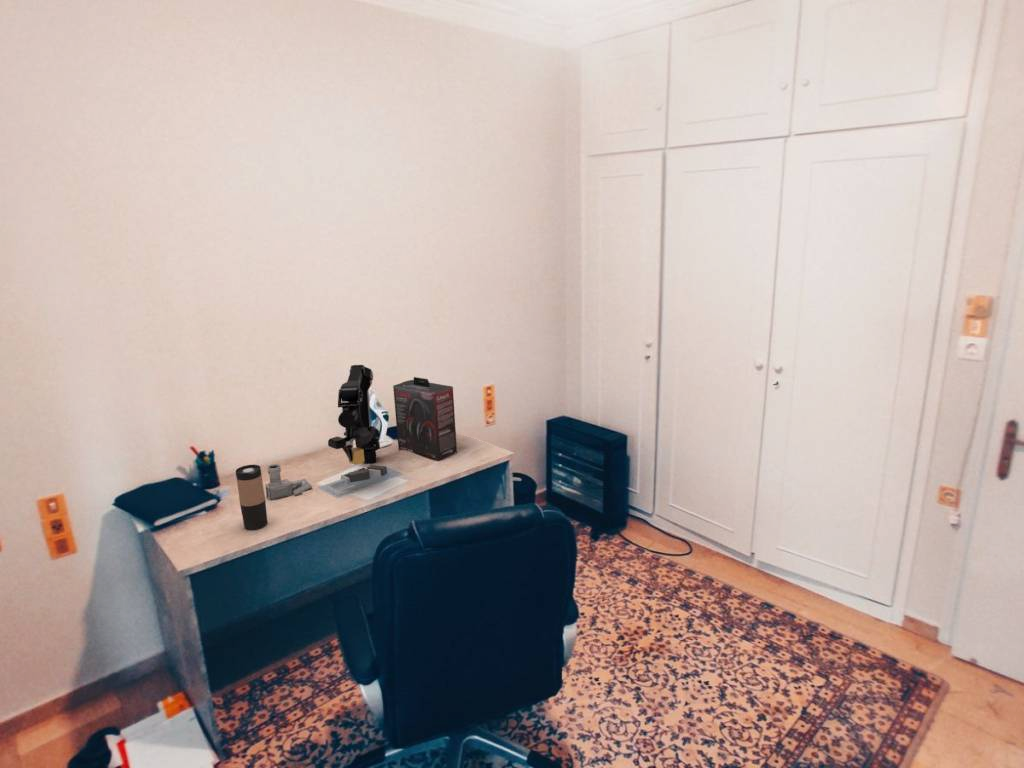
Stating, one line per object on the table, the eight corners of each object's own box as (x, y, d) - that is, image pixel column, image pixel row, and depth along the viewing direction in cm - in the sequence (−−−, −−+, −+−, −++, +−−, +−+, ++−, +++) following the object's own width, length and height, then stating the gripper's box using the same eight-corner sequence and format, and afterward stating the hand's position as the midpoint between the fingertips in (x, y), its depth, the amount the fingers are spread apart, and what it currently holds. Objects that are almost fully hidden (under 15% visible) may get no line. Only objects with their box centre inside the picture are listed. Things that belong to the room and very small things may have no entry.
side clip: (341, 481, 235) (340, 475, 234) (364, 473, 242) (363, 467, 241) (348, 485, 231) (347, 478, 231) (371, 476, 239) (370, 470, 238)
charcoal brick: (349, 479, 236) (348, 472, 236) (367, 476, 239) (366, 469, 238) (350, 482, 234) (349, 475, 233) (369, 479, 236) (368, 471, 236)
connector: (349, 462, 228) (347, 449, 227) (358, 459, 231) (357, 446, 230) (355, 464, 226) (354, 452, 224) (364, 461, 228) (363, 449, 227)
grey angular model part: (261, 464, 224) (302, 456, 233) (264, 494, 227) (305, 484, 236) (267, 472, 218) (309, 462, 226) (271, 502, 220) (312, 492, 229)
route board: (317, 489, 230) (316, 480, 229) (382, 467, 250) (381, 458, 249) (337, 500, 221) (336, 490, 220) (403, 476, 241) (402, 467, 240)
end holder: (326, 490, 227) (326, 485, 227) (343, 484, 232) (343, 479, 232) (338, 496, 222) (337, 491, 221) (355, 489, 227) (355, 485, 226)
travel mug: (248, 520, 207) (239, 465, 202) (271, 519, 208) (263, 463, 203) (240, 531, 200) (231, 474, 195) (264, 529, 201) (256, 472, 196)
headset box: (396, 450, 269) (391, 376, 260) (417, 442, 278) (412, 370, 270) (438, 462, 254) (433, 384, 246) (458, 452, 264) (454, 378, 256)
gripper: (342, 429, 212) (347, 472, 216) (386, 417, 226) (390, 457, 230) (325, 423, 220) (329, 465, 223) (368, 412, 233) (372, 450, 237)
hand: (356, 459), depth 228 cm, fingers closed on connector, 4 cm apart
